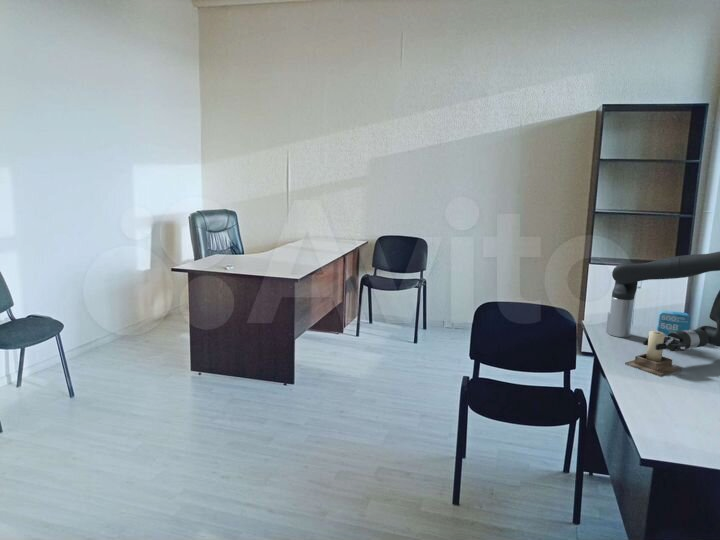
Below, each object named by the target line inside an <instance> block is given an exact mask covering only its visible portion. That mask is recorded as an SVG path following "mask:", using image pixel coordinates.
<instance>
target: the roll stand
mask: <svg viewBox="0 0 720 540" xmlns="http://www.w3.org/2000/svg"><path fill="white" fill-rule="evenodd" d="M646 355H647V352H646V353H642V354H638V355H636V356H635V358H634V360H631V361H626V362H624V364H625V365H626V364H627V365H626V366H629V365H630V366H629V367H632V368H635V369H637V368H638V370H640V371H643V372H647V373H648V374H651V373H652V375H654V374H655V376H657V375H658V377H661V376H665V375H668V374H671V373H675V372H678V371H681V370H682V367H680V366H676V365H673V359H671V358H669V357H665V356H663V355H662V360H661V362H659V363H657V362H654V361H651V360H648V359H646Z"/></svg>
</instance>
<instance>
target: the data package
mask: <svg viewBox="0 0 720 540" xmlns="http://www.w3.org/2000/svg"><path fill="white" fill-rule="evenodd" d="M690 325H691V316H690V315H689V313H687V312H681V311H670V310H660V311H659V312H658V316H657V325H656V331H659V332H663V333H664V334H665V335H664V336H667V335H668V334H669V333H671V332H675V331H683V330H690Z"/></svg>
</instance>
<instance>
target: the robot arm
mask: <svg viewBox="0 0 720 540" xmlns="http://www.w3.org/2000/svg"><path fill="white" fill-rule="evenodd" d="M718 271H720V251H716V252H715V251H714V252H711V253H700V254H698V253H697V254H686V255H675V256H670V257H664V258H661V259H656V260H653V261H649V262H644V263H634V262H631V261H624V262H621V263H619V264H617V265H616V266H614V268H613V270H612V272H611V276H612V278H613V280H614V281H615V283H614V287H613V289H612V292H611V299H610V301H611V302H610V310H609V312H608V313H607V320H606V327H605V328H606V329H605V332H606V333H607V334H608V335H610V336H613V337H617V338H629V337H630V336H631V329H632V321H633V314H634V313H633V312H634V306H635V305H634V303H635V297H636V293H637V289H638V283H639V282H641V281H648V280H670V279H671V280H673V279H674V280H675V279H683V278H689V277H693V276H694V277H695V276H697V275H698V276H699V275H702V274H705V273H709V272H718ZM709 319H710V321H712V322H713V321H714V322H715V323H716V327H715V326H711V325H702V326H700V327H698V328H696V329H689V330H683V331H675V332H671V333H669V334H668V335H667V336H664V343H662V344H656V350H663V351H664V350H665V351H670V352H685V351H687V350H693V349H696V348H702V347H705V346H707V344H708V345H710V346H711V345H712V346H715V347H718V348H720V289H719V290H718V292H717V294H716V295H715V299H714V301H713V303H712V307H711V309H710V313H709ZM648 338H649V335H648V336H647V339H646V338H645V339H643V346H648Z"/></svg>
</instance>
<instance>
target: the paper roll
mask: <svg viewBox="0 0 720 540" xmlns="http://www.w3.org/2000/svg"><path fill="white" fill-rule="evenodd" d="M664 335H665V334H664V333H663V332H659V331H657V330H649V332H648V336H649V338H648V337H647V339H648V345H647V348H646V353H647V355H646V359H648V360H651V361H654V362H657V363H659V362H661V360H662V356H663V351H664V349H663V350H656V344H662V343H664Z"/></svg>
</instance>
